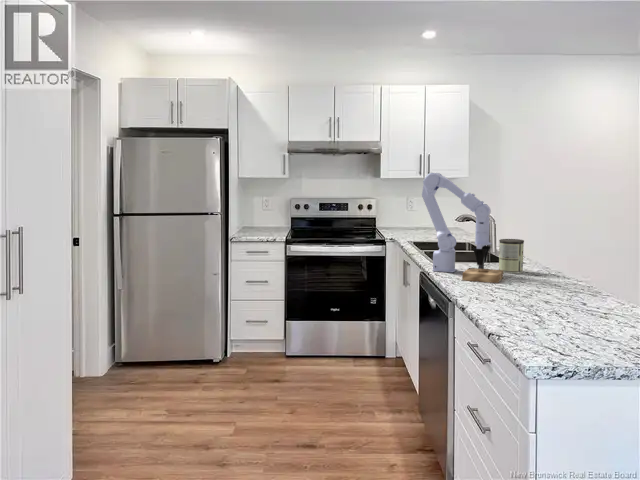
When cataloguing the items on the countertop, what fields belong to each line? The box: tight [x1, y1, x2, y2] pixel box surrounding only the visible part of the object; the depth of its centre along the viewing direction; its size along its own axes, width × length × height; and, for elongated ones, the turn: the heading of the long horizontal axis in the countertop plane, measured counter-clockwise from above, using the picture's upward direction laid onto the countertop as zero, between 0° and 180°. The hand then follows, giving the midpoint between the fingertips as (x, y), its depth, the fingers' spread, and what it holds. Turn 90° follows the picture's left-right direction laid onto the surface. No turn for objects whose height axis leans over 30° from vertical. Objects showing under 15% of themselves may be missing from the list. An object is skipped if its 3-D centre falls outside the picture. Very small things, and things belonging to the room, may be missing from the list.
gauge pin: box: [477, 261, 485, 269], centre depth 241 cm, size 2×2×9 cm
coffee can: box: [498, 238, 525, 275], centre depth 245 cm, size 10×10×14 cm
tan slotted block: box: [461, 267, 504, 284], centre depth 229 cm, size 14×14×3 cm
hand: (481, 263), depth 241 cm, fingers open, 7 cm apart
